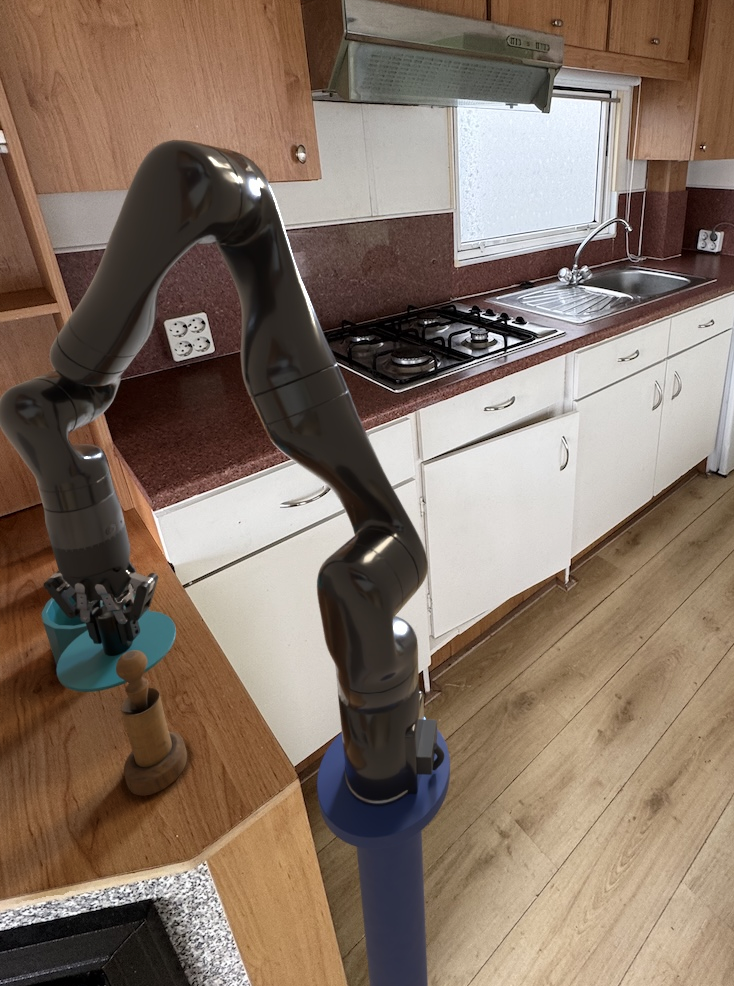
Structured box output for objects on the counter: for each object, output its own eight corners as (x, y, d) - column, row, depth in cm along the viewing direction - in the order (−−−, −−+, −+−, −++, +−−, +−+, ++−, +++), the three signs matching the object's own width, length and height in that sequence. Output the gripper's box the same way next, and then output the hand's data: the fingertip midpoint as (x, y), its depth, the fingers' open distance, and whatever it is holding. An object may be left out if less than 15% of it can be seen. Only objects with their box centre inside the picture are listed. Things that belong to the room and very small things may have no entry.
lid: (161, 603, 86) (153, 563, 84) (190, 656, 77) (181, 613, 75) (50, 650, 77) (37, 607, 75) (67, 715, 68) (53, 669, 66)
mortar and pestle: (134, 752, 73) (104, 640, 67) (191, 737, 75) (167, 627, 69) (120, 803, 67) (87, 685, 61) (182, 786, 69) (156, 670, 63)
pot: (140, 602, 99) (131, 560, 96) (161, 644, 90) (151, 600, 87) (49, 640, 90) (36, 595, 88) (63, 690, 82) (48, 643, 79)
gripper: (162, 513, 74) (184, 621, 80) (54, 509, 74) (84, 617, 80) (124, 549, 67) (151, 664, 73) (6, 545, 67) (42, 660, 73)
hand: (116, 639), depth 76 cm, fingers closed on lid, 3 cm apart
